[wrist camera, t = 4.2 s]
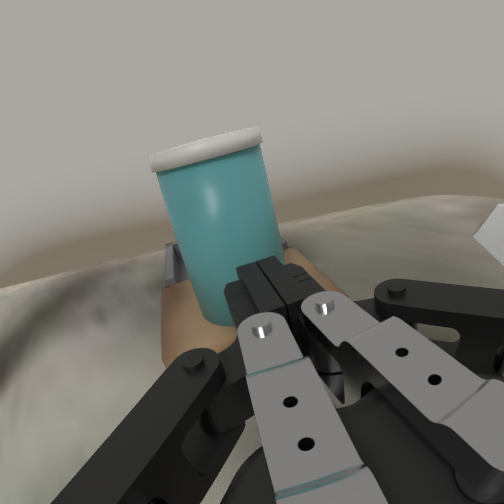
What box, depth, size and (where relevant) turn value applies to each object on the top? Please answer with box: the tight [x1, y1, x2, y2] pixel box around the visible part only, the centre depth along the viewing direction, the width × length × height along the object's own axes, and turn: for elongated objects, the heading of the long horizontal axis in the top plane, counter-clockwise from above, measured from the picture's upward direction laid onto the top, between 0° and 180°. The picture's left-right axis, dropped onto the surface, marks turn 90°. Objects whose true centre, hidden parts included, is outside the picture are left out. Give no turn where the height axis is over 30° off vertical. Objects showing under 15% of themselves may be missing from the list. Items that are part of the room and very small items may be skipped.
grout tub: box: [148, 126, 286, 326], centre depth 20 cm, size 7×7×11 cm
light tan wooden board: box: [162, 247, 348, 369], centre depth 24 cm, size 12×10×2 cm
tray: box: [165, 237, 288, 286], centre depth 33 cm, size 11×10×3 cm
